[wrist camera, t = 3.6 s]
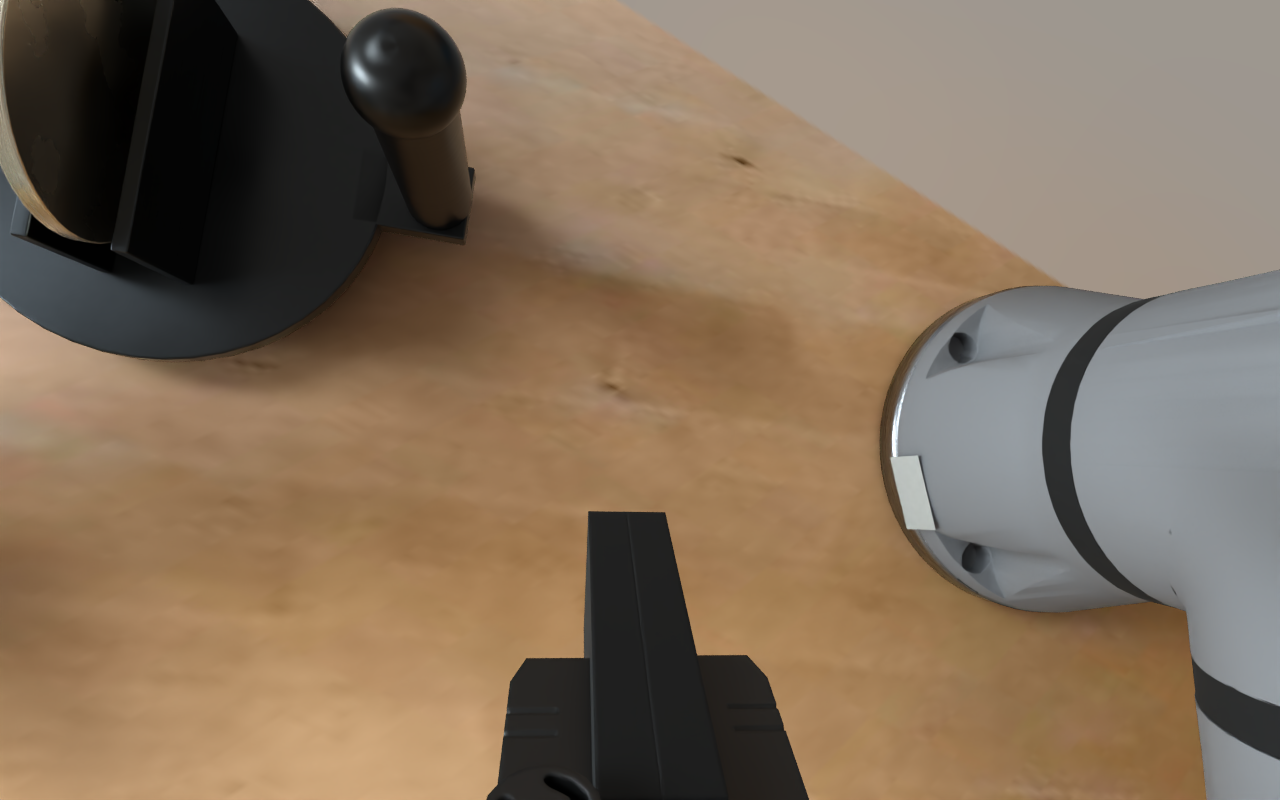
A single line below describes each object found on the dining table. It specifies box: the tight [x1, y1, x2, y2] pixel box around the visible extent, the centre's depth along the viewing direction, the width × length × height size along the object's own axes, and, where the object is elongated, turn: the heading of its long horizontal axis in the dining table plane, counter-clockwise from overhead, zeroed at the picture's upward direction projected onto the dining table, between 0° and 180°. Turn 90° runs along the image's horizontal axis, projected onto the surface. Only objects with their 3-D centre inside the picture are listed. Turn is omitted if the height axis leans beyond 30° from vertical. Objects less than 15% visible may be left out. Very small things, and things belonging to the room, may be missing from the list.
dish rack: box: [0, 0, 475, 362], centre depth 23 cm, size 20×16×13 cm
